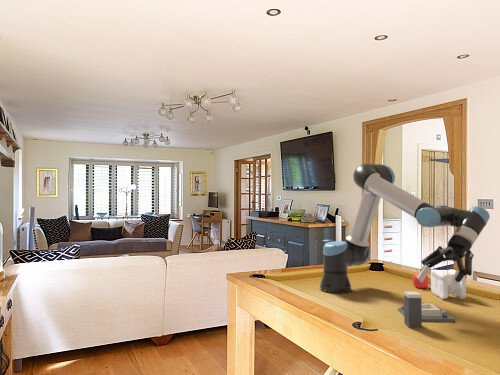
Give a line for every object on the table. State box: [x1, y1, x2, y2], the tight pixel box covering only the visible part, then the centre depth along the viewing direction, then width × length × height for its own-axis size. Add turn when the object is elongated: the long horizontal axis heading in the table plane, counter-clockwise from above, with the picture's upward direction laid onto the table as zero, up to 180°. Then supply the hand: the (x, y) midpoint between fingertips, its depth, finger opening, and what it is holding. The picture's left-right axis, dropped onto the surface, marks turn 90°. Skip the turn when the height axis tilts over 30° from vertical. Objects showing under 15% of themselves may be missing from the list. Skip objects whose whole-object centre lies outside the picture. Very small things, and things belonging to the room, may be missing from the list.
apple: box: [412, 272, 430, 290], centre depth 194 cm, size 8×8×8 cm
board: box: [397, 303, 456, 323], centre depth 147 cm, size 16×14×4 cm
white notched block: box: [430, 268, 467, 300], centre depth 176 cm, size 15×11×12 cm
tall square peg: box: [403, 290, 423, 329], centre depth 136 cm, size 4×4×12 cm
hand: (434, 283), depth 140 cm, fingers open, 13 cm apart
